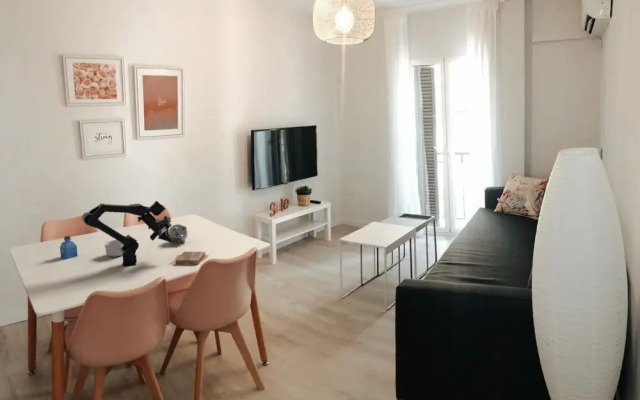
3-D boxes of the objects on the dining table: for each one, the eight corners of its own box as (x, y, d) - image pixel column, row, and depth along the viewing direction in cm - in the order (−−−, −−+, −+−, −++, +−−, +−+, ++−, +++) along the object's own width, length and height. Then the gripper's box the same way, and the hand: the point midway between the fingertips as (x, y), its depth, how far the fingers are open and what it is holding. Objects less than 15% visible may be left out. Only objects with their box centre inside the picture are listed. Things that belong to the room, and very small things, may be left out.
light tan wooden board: (168, 265, 263) (167, 264, 263) (178, 255, 279) (178, 254, 279) (201, 265, 262) (200, 264, 262) (209, 255, 279) (209, 255, 279)
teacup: (121, 258, 274) (120, 244, 272) (102, 258, 274) (100, 244, 272) (131, 251, 287) (130, 237, 286) (112, 250, 287) (111, 237, 286)
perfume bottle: (77, 256, 277) (75, 235, 275) (67, 259, 272) (64, 238, 270) (71, 254, 280) (69, 234, 278) (60, 257, 275) (58, 236, 273)
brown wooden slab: (175, 259, 262) (197, 260, 262) (184, 251, 277) (205, 251, 276) (175, 264, 262) (197, 264, 262) (184, 255, 277) (205, 256, 277)
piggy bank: (172, 247, 295) (171, 228, 293) (166, 241, 308) (165, 223, 306) (190, 244, 301) (190, 226, 298) (184, 238, 313) (183, 221, 311)
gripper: (154, 216, 255) (176, 236, 257) (167, 208, 274) (187, 228, 275) (140, 230, 257) (162, 250, 259) (154, 221, 276) (174, 241, 277)
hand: (172, 242), depth 267 cm, fingers closed
